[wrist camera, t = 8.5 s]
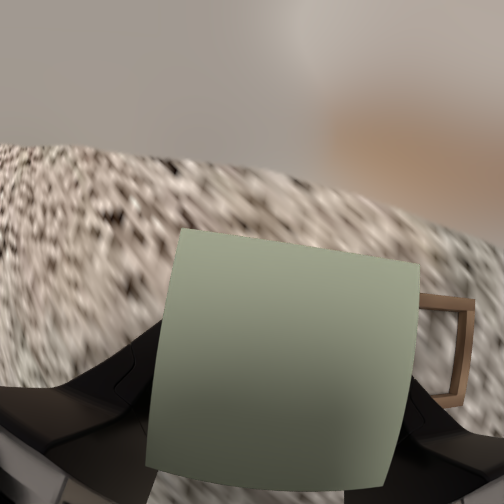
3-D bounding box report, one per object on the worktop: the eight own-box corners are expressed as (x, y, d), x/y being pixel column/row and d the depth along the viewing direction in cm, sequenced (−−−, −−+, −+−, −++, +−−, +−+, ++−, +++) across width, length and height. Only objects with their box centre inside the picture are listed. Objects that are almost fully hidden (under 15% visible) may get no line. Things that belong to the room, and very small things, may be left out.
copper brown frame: (454, 403, 17) (464, 405, 16) (185, 391, 18) (180, 395, 16) (466, 301, 19) (476, 298, 18) (206, 266, 20) (202, 261, 19)
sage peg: (295, 386, 15) (383, 486, 4) (217, 375, 15) (145, 466, 4) (306, 311, 16) (419, 264, 5) (230, 300, 17) (181, 227, 5)
